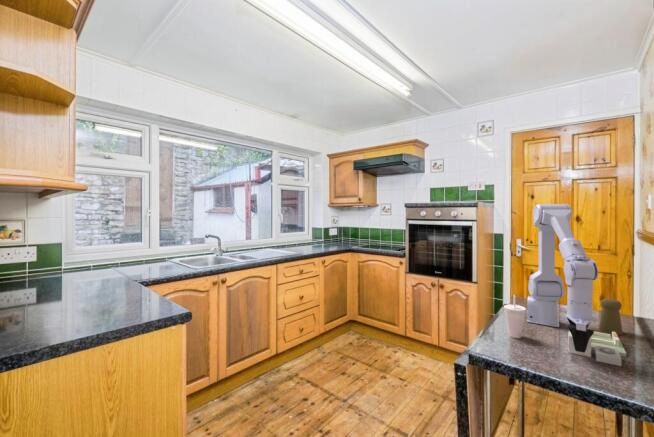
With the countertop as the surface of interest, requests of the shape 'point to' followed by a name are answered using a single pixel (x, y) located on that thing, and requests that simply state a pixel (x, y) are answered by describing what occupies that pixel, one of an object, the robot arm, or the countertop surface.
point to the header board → (607, 342)
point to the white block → (572, 348)
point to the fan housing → (607, 355)
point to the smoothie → (514, 319)
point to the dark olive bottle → (610, 317)
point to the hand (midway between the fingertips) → (579, 346)
